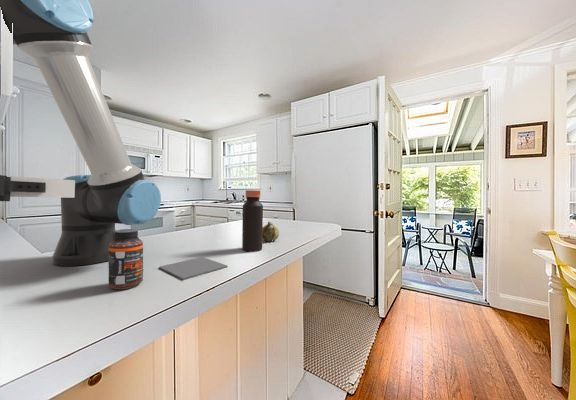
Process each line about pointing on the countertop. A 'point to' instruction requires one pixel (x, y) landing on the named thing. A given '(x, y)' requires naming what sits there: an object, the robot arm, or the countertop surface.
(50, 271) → the countertop surface
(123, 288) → the brass marker
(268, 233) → the onion
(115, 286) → the supplement bottle
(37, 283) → the countertop surface
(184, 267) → the rubber mat
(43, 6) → the robot arm
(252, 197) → the vinegar
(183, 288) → the countertop surface
